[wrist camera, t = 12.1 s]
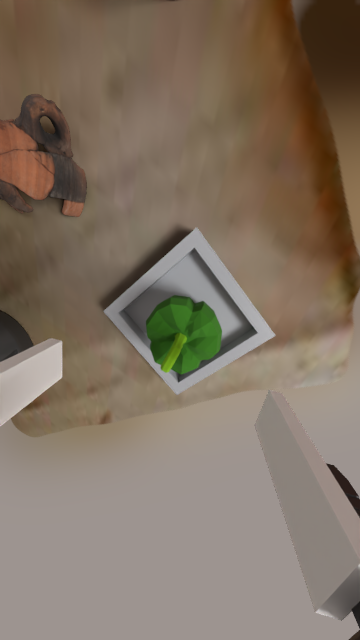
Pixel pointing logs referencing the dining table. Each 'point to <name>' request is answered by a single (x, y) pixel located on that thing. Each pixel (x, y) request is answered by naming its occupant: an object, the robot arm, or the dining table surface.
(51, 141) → the pottery mug
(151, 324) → the bell pepper
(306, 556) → the robot arm
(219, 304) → the gray square tray
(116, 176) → the dining table surface
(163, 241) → the dining table surface
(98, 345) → the dining table surface
